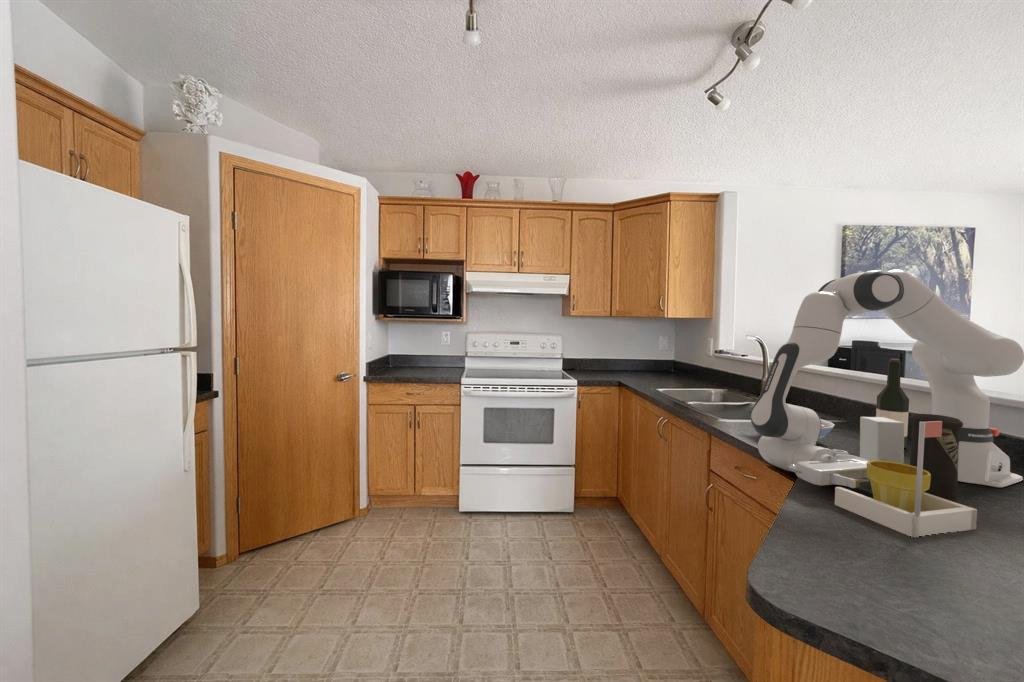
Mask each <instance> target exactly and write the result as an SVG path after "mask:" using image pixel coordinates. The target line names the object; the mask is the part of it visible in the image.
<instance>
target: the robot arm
mask: <svg viewBox="0 0 1024 682" xmlns="http://www.w3.org/2000/svg"><path fill="white" fill-rule="evenodd" d="M877 311H882V312H883V313H884V314H885V315H886V316H888V318H889V319H890V320H892V321H893V322H894V324H896V325H897V326H898V328H900V329H901V330H902V331H903V332H904V333H905V334H906V335H907V336H908V337H910V338H911V339H913V340H916V342H915V343H914V344H913V346H912V350H911V356H912V359H913V361H914V362H915V363H916V364H917V365H918V366H919V367H920V368H921V369H922V371H923V373H924V375H925V377H926V379H927V382H928V385H929V388H930V394H931V408H930V409H931V413H930V414H934V415H943V416H948V417H953V418H957V419H959V420H960V421H962V422H963V426H962V427H961V429H959V450H958V482H963V483H968V484H977V485H983V486H989V487H993V488H1004V487H1009V486H1011V485H1013V484H1016V483H1019V482H1021V481H1022V480H1023V481H1024V477H1023V476H1022V475H1019V474H1017V473H1013V472H1011V459H1010V456H1009V455H1007V454H1006V453H1005V452H1004V451H1002V449H1001V448H999V447H998V446H997V445H996V444H995V443H994V437H998V436H999V435H1000V433H1001V431H1000V429H999V428H996V427H995V428H993V427H990V412H991V411H990V410H991V400H990V398H989V396H988V395H987V394H986V393H984V391H982V390H981V389H980V388H979V386H978V384H977V382H976V380H975V377H980V378H981V377H983V378H991V377H992V378H993V377H1003V376H1009V375H1011V374H1014V373H1015V372H1018V370H1019V369H1020V368H1021V367H1022V366H1023V364H1024V349H1023V348H1022V346H1021V345H1020V344H1019V343H1018V342H1017V341H1015V340H1014V339H1010V338H1008V337H1006V336H1002V335H1000V334H997V333H995V332H992V331H990V330H989V329H987V328H984V327H983V326H981V325H979V324H977V323H975V322H974V321H971V320H970V319H968V318H967V317H964V316H963V315H961V314H960V313H958V312H957V311H955V310H954V309H953V308H951V307H950V306H949V305H948V304H947V303H946V302H945V301H944V300H943V299H941V297H940V296H938V295H937V294H936V293H935V292H934V291H933V290H932V289H931V288H930V287H928V286H927V284H925V283H923V281H921V280H920V279H918V278H916V277H915V276H914V275H912V274H910V273H909V272H906V271H905V270H902V269H891V270H880V269H879V270H878V269H877V270H876V269H874V270H868V271H864V272H857V273H851V274H848V275H846V276H843V277H840V278H836V279H831V280H830V281H828V282H826V283H824V284H823V285H822V286H821V287H820V288H819V289H818V291H814V292H811V293H808V294H807V295H806V296H805V297H804V298H803V300H802V302H801V304H800V306H799V309H798V310H797V313H796V316H795V320H794V323H793V327H792V331H791V334H790V337H789V338H788V340H787V341H786V343H785V344H782V346H780V348H779V349H778V350H777V352H776V353H775V354H776V355H775V356H774V358H773V361H772V363H771V366H770V368H769V370H768V372H767V373H768V374H767V376H766V379H765V381H764V385H763V387H762V389H761V391H760V395H759V396H758V398H757V400H756V401H755V403H754V404H753V406H752V408H751V413H749V414H750V417H749V418H750V422H751V425H752V427H753V428H754V430H755V432H757V433H758V434H759V435H760V436H761V437H760V438H759V440H758V442H757V449H758V452H759V453H758V454H760V455H761V457H762V459H764V461H766V462H768V463H769V464H771V465H773V466H774V467H777V468H779V469H782V470H784V471H787V472H794V473H795V475H796V476H797V478H799V479H801V480H803V481H805V482H808V483H810V484H813V485H816V486H830V485H831V486H832V485H837V486H838V485H839V486H845V487H848V488H851V489H857V488H858V489H859V488H860V483H864V482H870V479H869V478H867V462H868V461H869V460H866V459H863V458H860V456H857V455H852V454H849V452H848V451H846V450H843V449H837V448H836V449H835V448H834V449H833V448H826V447H823V446H818V445H817V444H818V440H819V439H818V438H819V435H820V432H821V420H820V419H821V417H820V416H819V414H818V413H817V412H816V410H814V409H812V408H809V407H804V406H800V405H797V404H796V405H794V404H792V403H786V401H787V400H786V398H787V396H788V393H789V391H790V388H791V385H792V384H793V380H794V378H795V375H796V374H797V372H799V370H800V369H802V368H804V367H806V366H810V365H815V364H816V365H817V364H820V363H824V362H826V361H827V360H829V359H831V358H833V356H835V354H836V352H837V350H838V349H839V345H840V342H841V337H842V331H843V326H844V321H845V319H846V318H847V316H848V315H850V316H851V315H861V314H865V313H870V312H877ZM974 376H975V377H974ZM1023 481H1022V482H1023Z"/></svg>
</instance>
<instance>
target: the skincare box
mask: <svg viewBox="0 0 1024 682" xmlns="http://www.w3.org/2000/svg"><path fill="white" fill-rule="evenodd" d="M859 418H860V420H859V423H860V424H859V457H860V458H863V459H866V460H869V461H873V460H879V461H890V462H896V463H902V464H905V449H904V424H905V423H903V422H899V421H895V420H892V419H888V418H885V417H876V416H860V417H859Z"/></svg>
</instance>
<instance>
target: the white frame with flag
mask: <svg viewBox="0 0 1024 682" xmlns="http://www.w3.org/2000/svg"><path fill="white" fill-rule="evenodd" d="M941 436H942V421H930V422H920V423H919V441H918V459H917V478H916V496H915V513H910V512H907V511H904V510H902V509H899V508H896V507H894V506H891V505H888V504H886V503H883V502H880V501H878V500H875V499H874V498H872V497H869V496H866V495H864V494H862V493H858V492H856V491H853V490H851V489H849V488H846V487H842V486H835V487H834V506H836V507H839V508H841V509H845V510H846V511H849V512H851V513H854V514H856V515H858V516H861V517H864V518H865V519H868V520H870V521H873V522H875V523H877V524H879V525H882V526H884V527H886V528H889V529H892V530H893V531H897V532H899V533H902V534H904V535H905V534H906V535H905V536H908V537H910V536H911V538H913V537H914V538H920V537H919V536H922V537H926V536H925V535H929V536H932V535H931V534H936V535H939V534H938V533H944V534H948V533H947V532H951V533H957V531H959V532H965V531H971V530H973V531H974V530H977V517H978V509H976V508H974V507H971V506H967V505H965V504H961V503H958V502H957V503H956V502H953V501H950V500H946V499H943V498H940V497H937V496H934V495H931V494H928V493H925V492H924V495H923V497H922V500H921V491H922V473H923V455H924V438H927V437H941Z"/></svg>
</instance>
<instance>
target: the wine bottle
mask: <svg viewBox="0 0 1024 682" xmlns="http://www.w3.org/2000/svg"><path fill="white" fill-rule="evenodd" d="M901 375H902V361H900V358H889V360H888V361H887V376H886V377H887V378H886V385H885V387H884V388H883V389H881V391H880V392H879V393H878V394H877V395H876V406H875V407H876V408H875V409H876V410H875V417H885V418H888V419H892V420H895V421H899V422H903V423H905V424H904V447H907V446H908V428H909V427H908V426H909V409H910V399H909V397H908V395H907V394H906V393H905V391H904V389H902V387H901V378H902V377H901ZM907 448H908V447H907Z"/></svg>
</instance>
